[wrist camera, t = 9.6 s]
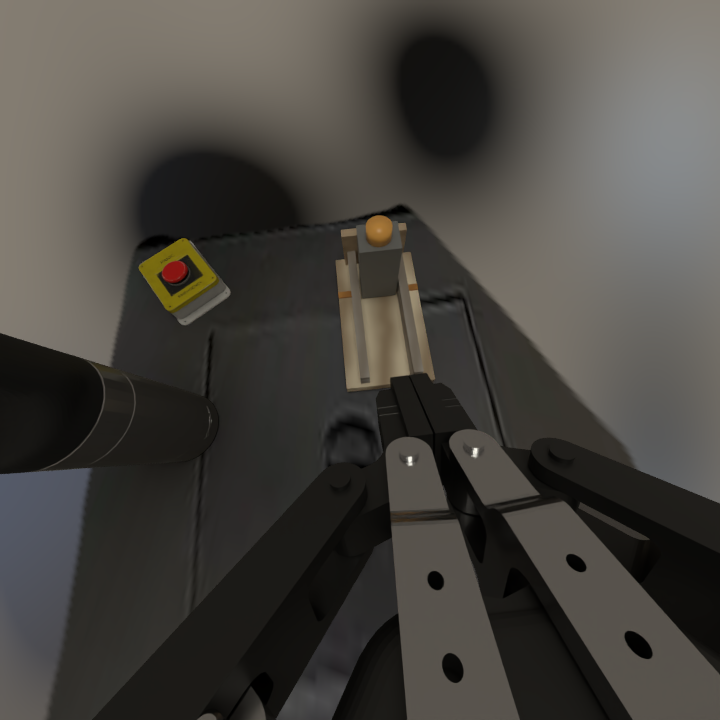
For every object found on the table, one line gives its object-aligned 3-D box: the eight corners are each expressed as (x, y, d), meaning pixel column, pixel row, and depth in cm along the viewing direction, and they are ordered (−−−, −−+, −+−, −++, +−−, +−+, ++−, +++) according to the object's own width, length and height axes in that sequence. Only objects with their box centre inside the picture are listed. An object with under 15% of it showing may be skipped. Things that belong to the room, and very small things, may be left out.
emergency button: (166, 316, 39) (123, 253, 43) (185, 329, 44) (145, 270, 48) (220, 280, 41) (174, 221, 45) (234, 295, 45) (191, 241, 49)
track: (348, 391, 39) (342, 377, 31) (337, 267, 45) (330, 231, 38) (431, 382, 39) (446, 366, 31) (408, 259, 45) (416, 221, 38)
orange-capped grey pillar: (362, 298, 41) (358, 243, 30) (359, 276, 42) (355, 214, 31) (395, 294, 41) (404, 238, 30) (391, 272, 42) (398, 209, 31)
